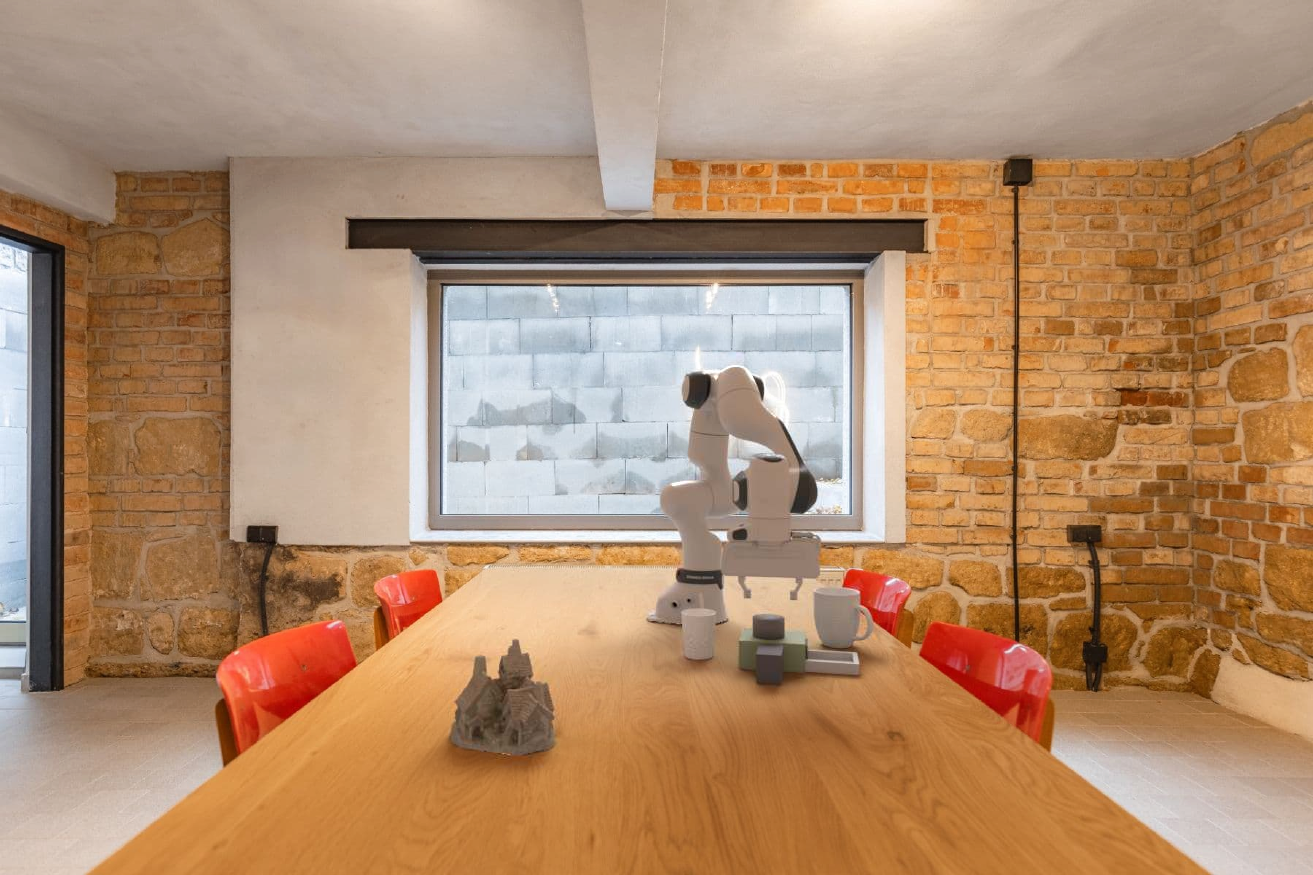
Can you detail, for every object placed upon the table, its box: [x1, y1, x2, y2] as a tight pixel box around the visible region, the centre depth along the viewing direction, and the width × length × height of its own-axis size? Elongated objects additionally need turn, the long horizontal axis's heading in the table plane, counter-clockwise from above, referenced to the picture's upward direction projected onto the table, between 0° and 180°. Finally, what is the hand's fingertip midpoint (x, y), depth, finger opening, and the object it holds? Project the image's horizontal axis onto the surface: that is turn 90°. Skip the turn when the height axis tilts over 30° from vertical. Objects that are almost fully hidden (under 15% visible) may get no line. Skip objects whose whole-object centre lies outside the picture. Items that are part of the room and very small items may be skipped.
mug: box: [813, 586, 874, 649], centre depth 166 cm, size 15×11×13 cm
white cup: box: [681, 608, 716, 661], centre depth 158 cm, size 8×8×10 cm
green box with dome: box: [738, 613, 860, 676], centre depth 151 cm, size 25×11×10 cm, turn 77°
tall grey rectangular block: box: [755, 644, 784, 686], centre depth 142 cm, size 5×8×6 cm, turn 167°
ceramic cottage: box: [448, 638, 556, 756], centre depth 112 cm, size 16×16×15 cm
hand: (770, 598), depth 143 cm, fingers open, 8 cm apart
